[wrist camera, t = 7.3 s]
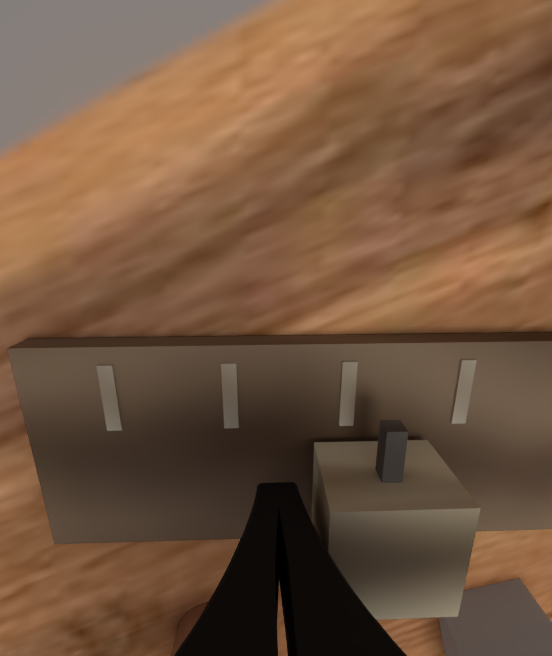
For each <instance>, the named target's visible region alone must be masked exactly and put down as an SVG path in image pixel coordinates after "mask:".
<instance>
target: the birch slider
mask: <svg viewBox="0 0 552 656" xmlns="http://www.w3.org/2000/svg"><path fill="white" fill-rule="evenodd" d="M480 509H481V508H480V507H479V506H478V504H477V503H476V502H475V500H474V499H473V498H472V496H471V495H470V494H469V493H468V491H467V490H466V489H465V487H464V486H463V485H462V484H461V482H460V481H459V480H458V478H457V477H456V476H455V475H454V473H453V472H452V471H451V469H450V468H449V467H448V466H447V464H446V463H445V462H444V460H443V459H442V458H441V457H440V455H439V454H438V453H437V451H436V450H435V449H434V448H433V446H432V445H431V444H430V442H429V441H428V440H408V430H407V429H406V427H405V426H404V425H403V423H402V422H401V420H380V425H379V436H378V441H356V442H314V459H313V488H312V518H311V521H312V523H313V525H314V527H315V529H316V531H317V533H318V535H319V537H320V539H321V540H322V542H323V544H324V546H325V547H326V549H327V551H328V552H329V554H330V556H331V557H332V559H333V561H334V562H335V564H336V565H337V567H338V569H339V570H340V572H341V573H342V575H343V576H344V578H345V579H346V581H347V582H348V583H349V585H350V586H351V588H352V589H353V591H354V592H355V593H356V595H357V596H358V597H359V599H360V600H361V601H362V603H363V604H364V605H365V607H366V608H367V609H368V611H369V612H370V613H371V614H372V615H373V617H374V618H375V619H376V620H381V619H407V618H433V617H458V614H459V609H460V604H461V599H462V595H463V590H464V585H465V580H466V576H467V571H468V566H469V561H470V557H471V552H472V547H473V542H474V537H475V533H476V528H477V523H478V518H479V514H480Z"/></svg>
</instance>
